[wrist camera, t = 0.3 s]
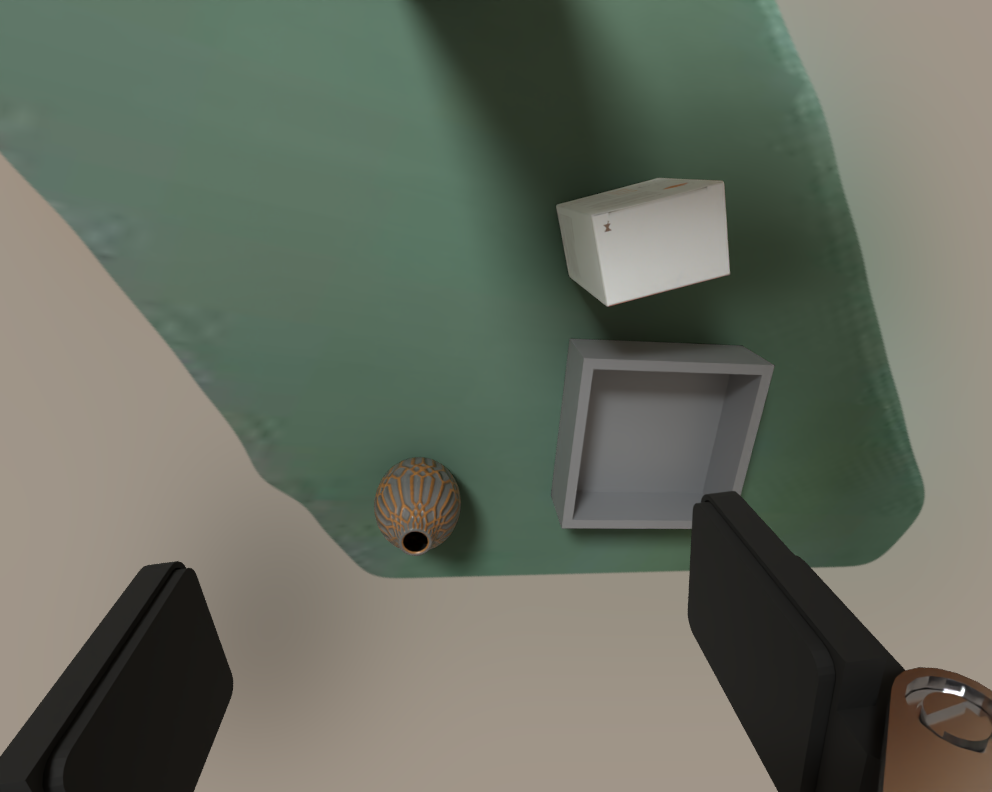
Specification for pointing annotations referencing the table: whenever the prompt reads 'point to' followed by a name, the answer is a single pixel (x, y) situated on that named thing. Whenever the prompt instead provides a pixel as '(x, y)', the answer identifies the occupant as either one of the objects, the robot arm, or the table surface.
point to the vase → (417, 505)
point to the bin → (653, 430)
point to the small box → (646, 238)
